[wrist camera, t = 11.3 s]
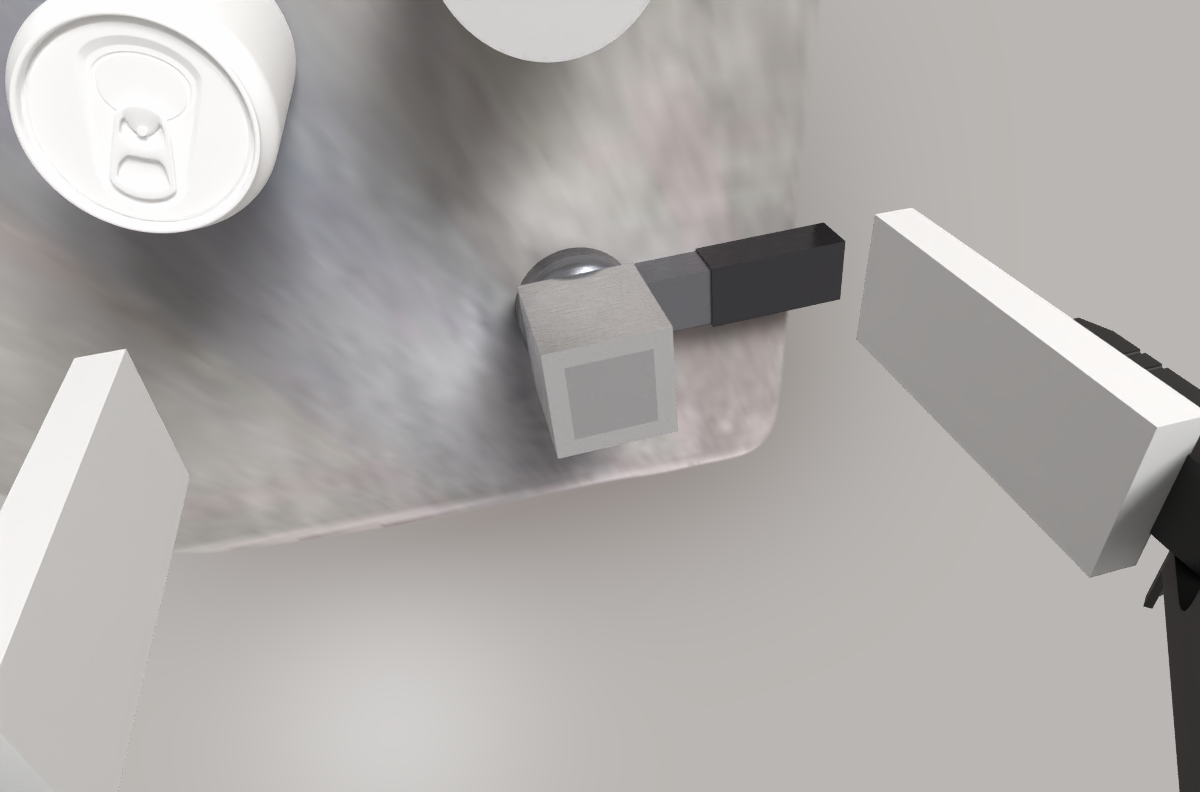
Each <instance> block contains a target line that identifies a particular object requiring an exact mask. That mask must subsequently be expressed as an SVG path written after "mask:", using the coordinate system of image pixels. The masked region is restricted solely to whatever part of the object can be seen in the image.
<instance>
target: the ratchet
mask: <svg viewBox="0 0 1200 792" xmlns="http://www.w3.org/2000/svg"><path fill="white" fill-rule="evenodd" d="M844 250H845V241H844V240H843V239H842V238H841V237H840V236H838V235H837V234H836V233H835V232H834V231H833V230H832V229H831V228H829V227H828V226H827V225H826V224H825V223H819V224H815V225H810V226H805V227H800V228H795V229H790V230H785V231H780V232H776V233H771V234H766V235H761V236H756V237H751V238H746V239H741V240H736V241H731V242H727V243H722V244H717V245H712V246H707V247H702V248H697V249H696V251H694V252H689V253H684V254H679V255H674V256H669V257H665V258H660V259H655V260H650V261H645V262H640V263H635V264H634V265H635V267H636V268H637V270H638V272H639V273H640V275H641V276H642V278H643V280H644V281H645V283H646V285H647V286H648V288H649V289H650V291H651V293H652V294H653V296H654V298H655V299H656V301H657V302H658V304H659V306H660V307H661V309H662V310H663V312H664V314H665V315H666V317H667V319H668V320H669V322H670V323H671V325H672V327H673V331H677V330H682V329H687V328H691V327H696V326H700V325H705V324H710V323H711V325H712V326H713V327H715V326H719V325H724V324H728V323H733V322H738V321H742V320H747V319H751V318H756V317H761V316H765V315H770V314H774V313H779V312H784V311H788V310H792V309H797V308H802V307H806V306H810V305H816V304H820V303H824V302H829V301H834V300H838V299H840V294H841V283H842V272H843V261H844ZM619 265H621V264H620V263H619V262H618V261H617V260H616V259H614V258H613V257H612V256H610V255H608V254H607V253H604V252H602V251H599V250H595V249H591V248H570V249H565V250H561V251H558V252H556V253H553V254H551V255H549V256H547V257H546V258H544V259H543V260H541V261H540V262H538V263H537V264H536V265H535V266H534V267H533V268H532V269H531V270H530V271H529V272H528V273H527V275H526V276H525V278H524V279H523V281H522V283H521V285H525V284H530V283H535V282H540V281H545V280H550V279H555V278H560V277H565V276H570V275H574V274H579V273H584V272H589V271H594V270H599V269H604V268H609V267H614V266H619ZM516 316H517V320H518V323H519V327H520V330H521V333H522V336H523V339H524V342H525V345H526V347H527V350H528V344H527V339H526V333H525V328H524V322H523V316H522V311H521V305H520V300H519V294H518V293H517V298H516ZM528 351H529V350H528Z"/></svg>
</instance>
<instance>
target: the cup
mask: <svg viewBox="0 0 1200 792" xmlns="http://www.w3.org/2000/svg"><path fill="white" fill-rule="evenodd" d="M443 1H444V3H445V5H446V6H447V7H448V9H449V10H450V11H451V13H452V14H453V15H454V16H455V18H456V19H457V20H458V21H459V22H460V23H461V24H462V25H463V26H464V27H465V28H466V29H467V30H468V31H469V32H470V33H472V34H473V35H474V36H475V37H477V38H478V39H479V40H481V41H482V42H483V43H485V44H487V45H488V46H490V47H492V48H494V49H495V50H497V51H499V52H502V53H504V54H506V55H509V56H512V57H515V58H518V59H523V60H527V61H533V62H561V61H567V60H572V59H576V58H580V57H583V56H585V55H588V54H591V53H593V52H595V51H597V50H599V49H601V48H603V47H604V46H606V45H608V44H609V43H611V42H612V41H614V40H615V39H616V38H617V37H619V36H620V35H621V34H622V33H623V32H625V31H626V30H627V29H628V28H629V27H630V26H631V25H632V24H633V23H634V22H635V20H636V19H637V18H638V17H639V16H640V14H641V13H642V12H643V10H644V9H645V7H646V6H647V5H648V3H649V1H650V0H443Z"/></svg>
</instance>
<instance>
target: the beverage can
mask: <svg viewBox="0 0 1200 792" xmlns="http://www.w3.org/2000/svg"><path fill="white" fill-rule="evenodd" d="M295 75H296V55H295V48H294V43H293V39H292V35H291V32H290V29H289V27H288V24H287V22H286V20H285V18H284V16H283V14H282V12H281V10H280V9H279V7H278V5H277V4H276V2H275V1H274V0H47V1H46V2H44V3H43V4H41V5H40V6H39V7H38V8H37V9H36V10H34V11H33V12H32V13H31V14H30V16H29V17H28V18H27V19H26V20H25V21H24V23H23V24H22V26H21V27H20V29H19V30H18V32H17V34H16V36H15V38H14V40H13V43H12V45H11V48H10V51H9V55H8V59H7V64H6V73H5V87H6V97H7V102H8V107H9V111H10V115H11V118H12V122H13V126H14V129H15V132H16V135H17V137H18V140H19V142H20V144H21V146H22V148H23V150H24V152H25V153H26V155H27V157H28V158H29V160H30V162H31V163H32V164H33V166H34V167H35V169H36V170H37V171H38V172H39V174H40V175H41V176H42V177H43V178H44V179H45V180H46V181H47V183H48V184H49V185H50V186H51V187H53V188H54V189H55V190H56V191H57V192H58V193H59V194H60V195H62V196H63V197H64V198H65V199H67V200H68V201H69V202H71V203H72V204H74V205H75V206H77V207H78V208H80V209H81V210H83V211H85V212H86V213H88V214H90V215H92V216H94V217H96V218H98V219H100V220H103V221H105V222H108V223H110V224H113V225H116V226H119V227H122V228H126V229H130V230H135V231H140V232H148V233H177V232H184V231H189V230H193V229H198V228H203V227H206V226H210V225H213V224H216V223H218V222H221V221H223V220H225V219H227V218H229V217H231V216H233V215H234V214H236V213H237V212H239V211H240V210H242V209H243V208H244V207H246V206H247V205H248V204H249V203H250V202H251V201H252V200H253V199H254V198H255V197H256V196H257V195H258V194H259V192H260V191H261V190H262V188H263V187H264V186H265V184H266V182H267V181H268V179H269V177H270V175H271V173H272V170H273V168H274V165H275V162H276V158H277V154H278V150H279V146H280V142H281V138H282V133H283V129H284V125H285V121H286V116H287V112H288V108H289V104H290V99H291V95H292V91H293V86H294V82H295Z"/></svg>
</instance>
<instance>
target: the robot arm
mask: <svg viewBox="0 0 1200 792" xmlns="http://www.w3.org/2000/svg"><path fill="white" fill-rule="evenodd" d="M856 339H857V340H858V341H859V342H860V343H861V344H862V345H863V346H864V347H865V348H866V349H867V350H868V351H869V352H870V353H871V354H872V355H873V357H875V358H876V360H877V361H878V362H879V363H880V364H882V366H883V367H884V368H885V369H886V370H887V371H888V372H889V373H890V374H891V375H892V376H893V377H894V378H895V379H896V380H897V381H898V382H899V383H900V384H901V385H902V386H903V387H904V388H905V389H906V390H907V391H908V392H909V393H910V394H911V395H912V396H913V397H914V398H915V399H916V400H917V402H919V404H920V405H922V407H923V408H924V409H925V410H926V411H927V412H928V413H929V414H930V415H931V416H932V417H933V418H934V419H935V420H936V421H937V422H938V423H939V424H940V425H941V426H942V427H943V428H944V429H945V430H946V431H947V432H948V433H949V434H950V435H951V436H952V437H953V438H954V439H955V440H956V441H957V442H958V443H959V445H961V447H962V448H963V449H964V450H965V451H966V452H967V453H968V454H969V455H970V456H971V457H972V458H973V459H974V460H975V461H976V462H977V463H978V464H979V465H980V466H981V467H982V468H983V469H984V470H985V471H986V472H987V473H988V474H989V475H990V476H991V477H992V478H993V479H994V480H995V481H996V482H997V483H998V484H999V485H1000V486H1001V487H1002V488H1003V489H1004V491H1005V492H1007V493H1008V495H1009V496H1011V498H1012V499H1013V500H1014V501H1015V502H1016V503H1017V504H1018V505H1019V506H1020V507H1021V508H1022V509H1023V510H1024V511H1025V512H1026V513H1027V514H1028V515H1029V516H1030V517H1031V518H1032V519H1033V520H1034V521H1035V522H1036V523H1037V524H1038V525H1039V526H1040V527H1041V528H1042V529H1043V530H1044V531H1045V532H1046V533H1047V535H1048V536H1049V537H1050V538H1052V540H1053V541H1054V542H1055V543H1056V544H1057V545H1058V546H1059V547H1060V548H1061V549H1062V550H1063V551H1064V552H1065V553H1066V554H1067V555H1068V556H1069V557H1070V558H1071V559H1072V560H1073V561H1074V562H1075V563H1076V564H1077V565H1078V566H1079V567H1080V568H1081V569H1082V570H1083V571H1084V572H1085V573H1086V574H1087V575H1088V576H1089V578H1090V577H1094V576H1098V575H1102V574H1105V573H1109V572H1112V571H1116V570H1120V569H1123V568H1127V567H1131V566H1134V565H1136V564H1137V562H1138V559H1139V558H1140V556H1141V554H1142V551H1143V549H1144V547H1145V545H1146V543H1147V541H1148V539H1149V537H1150V535H1151V534H1152V535H1153V536H1154V537H1155V538H1156V539H1157V540H1158V541H1159V542H1161V543H1162V544H1163V545H1164V546H1165V547H1166V548H1167V549H1169V550H1170V551H1169V553H1168V555H1167V557H1166V559H1165V561H1164V563H1163V564H1162V566H1161V568H1160V570H1159V572H1158V574H1157V576H1156V578H1155V580H1154V582H1153V584H1152V585H1151V587H1150V589H1149V591H1148V593H1147V595H1146V598H1145V602H1144V606H1145V607H1148V608H1153V606H1154V604H1155V602H1156V601H1157V599H1158V597H1159V596H1161V595H1163V594H1164V604H1165V617H1166V628H1167V641H1168V653H1169V666H1170V678H1171V691H1172V703H1173V716H1174V728H1175V740H1176V753H1177V765H1178V778H1179V789H1180V792H1200V389H1198V388H1197V387H1195V386H1194V385H1192V384H1191V383H1189V382H1188V381H1186V380H1185V379H1183V378H1182V377H1180V376H1179V375H1177V374H1176V373H1174V372H1173V371H1172V370H1170V369H1169V368H1165V369H1163V368H1162V364H1161V363H1159V362H1158V361H1157V360H1155V359H1154V358H1152V357H1151V356H1149V355H1148V354H1146V353H1143V354H1141V353H1140V349H1139V348H1137V347H1136V346H1134V345H1133V344H1131V343H1130V342H1128V341H1127V340H1125V339H1124V338H1123V337H1121V336H1120V335H1118V334H1116V333H1115V332H1114V331H1111V330H1109V329H1106V328H1104V327H1101V326H1099V325H1096V324H1093V323H1091V322H1088V321H1086V320H1083V319H1081V318H1075V319H1072V318H1070V317H1069V316H1067V315H1066V314H1064V313H1063V312H1062V311H1060V310H1058V309H1057V308H1056V307H1054V306H1053V305H1051V304H1050V303H1049V302H1047V301H1046V300H1044V299H1043V298H1041V297H1040V296H1038V295H1037V294H1035V293H1034V292H1032V291H1031V290H1030V289H1028V288H1027V287H1026V286H1024V285H1023V284H1021V283H1020V282H1018V281H1017V280H1015V279H1014V278H1012V277H1011V276H1010V275H1008V274H1007V273H1005V272H1004V271H1002V270H1001V269H1000V268H998V267H997V266H995V265H994V264H992V263H991V262H990V261H988V260H986V259H985V258H984V257H982V256H981V255H979V254H978V253H977V252H975V251H974V250H972V249H971V248H969V247H968V246H966V245H965V244H964V243H962V242H961V241H959V240H958V239H956V238H955V237H953V236H952V235H951V234H949V233H948V232H946V231H945V230H943V229H942V228H941V227H939V226H937V225H936V224H935V223H933V222H932V221H930V220H929V219H928V218H926V217H925V216H923V215H922V214H920V213H919V212H917V211H916V210H914V209H913V208H908V209H903V210H897V211H891V212H886V213H881V214H875V218H874V224H873V231H872V238H871V244H870V251H869V258H868V264H867V271H866V278H865V285H864V291H863V298H862V304H861V311H860V318H859V325H858V331H857V338H856ZM188 481H189V475H188V473H187V471H186V468H185V466H184V464H183V462H182V460H181V458H180V456H179V454H178V452H177V450H176V448H175V446H174V444H173V442H172V440H171V438H170V436H169V434H168V432H167V430H166V428H165V426H164V424H163V422H162V420H161V418H160V416H159V414H158V412H157V410H156V408H155V406H154V404H153V402H152V400H151V398H150V396H149V394H148V392H147V390H146V388H145V386H144V384H143V382H142V380H141V378H140V376H139V374H138V372H137V370H136V368H135V366H134V364H133V362H132V360H131V358H130V356H129V354H128V352H127V350H126V349H122V350H117V351H111V352H106V353H100V354H95V355H89V356H83V357H78V358H74V360H73V362H72V364H71V367H70V369H69V371H68V373H67V375H66V377H65V379H64V381H63V383H62V385H61V387H60V389H59V391H58V393H57V395H56V397H55V400H54V402H53V404H52V406H51V408H50V410H49V412H48V414H47V416H46V418H45V420H44V422H43V424H42V426H41V428H40V430H39V433H38V435H37V437H36V439H35V441H34V443H33V445H32V447H31V449H30V451H29V453H28V455H27V457H26V459H25V461H24V463H23V466H22V468H21V470H20V472H19V474H18V476H17V478H16V480H15V482H14V484H13V486H12V488H11V490H10V492H9V494H8V496H7V499H6V501H5V503H4V505H3V507H2V509H1V511H0V792H118V791H119V787H120V782H121V778H122V774H123V769H124V764H125V760H126V756H127V751H128V747H129V742H130V738H131V733H132V729H133V725H134V720H135V716H136V711H137V707H138V702H139V698H140V694H141V689H142V685H143V681H144V676H145V672H146V667H147V663H148V658H149V654H150V650H151V645H152V641H153V636H154V632H155V628H156V622H157V618H158V614H159V610H160V605H161V601H162V596H163V592H164V588H165V583H166V579H167V574H168V570H169V565H170V561H171V556H172V552H173V548H174V543H175V539H176V535H177V530H178V526H179V521H180V517H181V512H182V508H183V504H184V499H185V495H186V490H187V486H188Z"/></svg>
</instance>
